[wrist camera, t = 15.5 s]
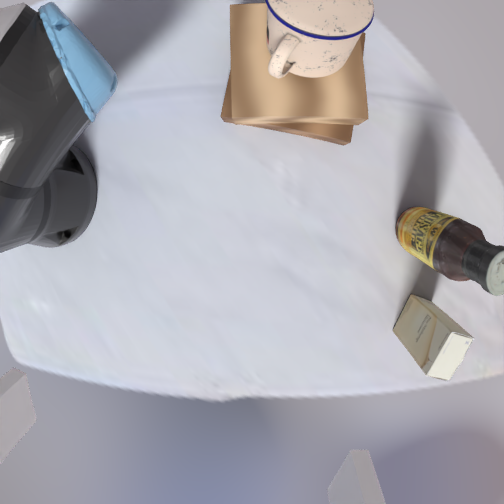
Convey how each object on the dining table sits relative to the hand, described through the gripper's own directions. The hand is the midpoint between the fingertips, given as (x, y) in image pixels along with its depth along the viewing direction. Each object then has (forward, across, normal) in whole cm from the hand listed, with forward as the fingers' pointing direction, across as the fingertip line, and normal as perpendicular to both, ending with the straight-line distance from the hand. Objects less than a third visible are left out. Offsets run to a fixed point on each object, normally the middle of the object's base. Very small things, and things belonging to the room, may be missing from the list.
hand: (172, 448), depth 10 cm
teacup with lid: (+24, +3, +24) cm, 34 cm away
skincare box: (+32, +26, -4) cm, 41 cm away
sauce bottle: (+32, +22, +8) cm, 40 cm away
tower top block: (+28, +2, +24) cm, 37 cm away
